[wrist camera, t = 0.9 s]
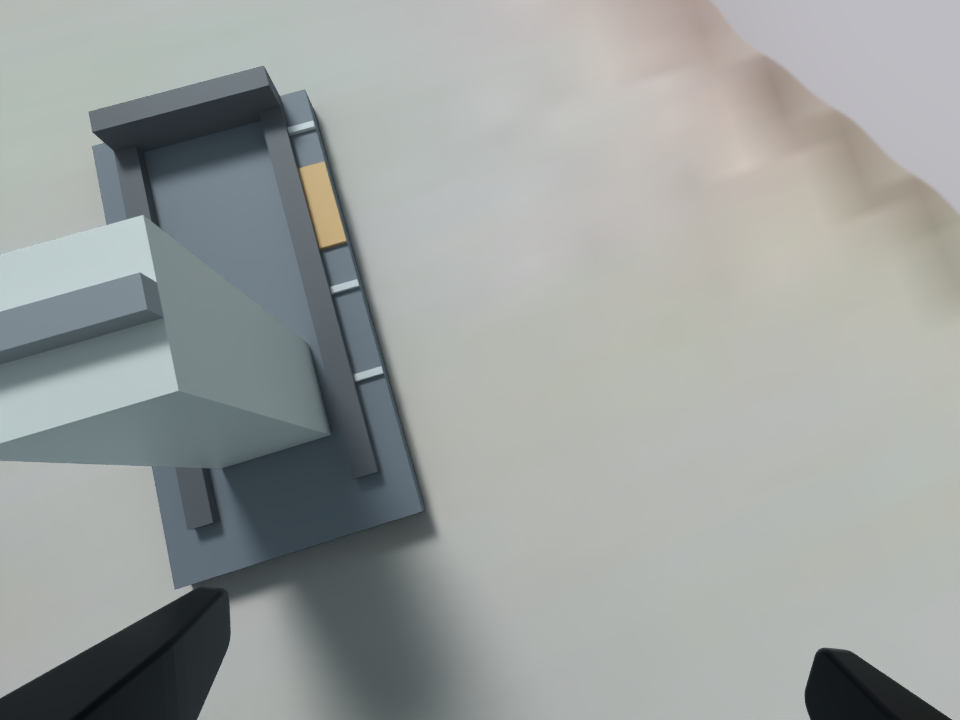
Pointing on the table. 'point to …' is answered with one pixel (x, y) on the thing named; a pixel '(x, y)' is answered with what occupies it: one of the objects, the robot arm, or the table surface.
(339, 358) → the fader track base
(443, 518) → the table surface
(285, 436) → the fader cap
